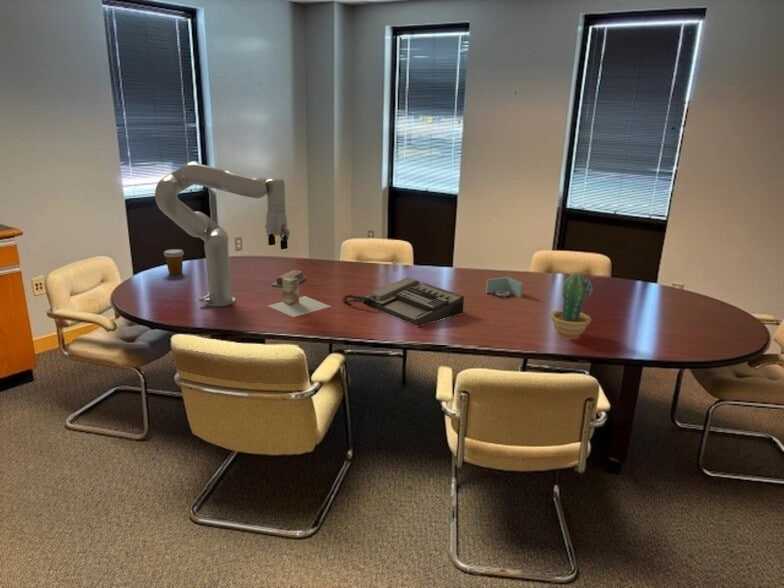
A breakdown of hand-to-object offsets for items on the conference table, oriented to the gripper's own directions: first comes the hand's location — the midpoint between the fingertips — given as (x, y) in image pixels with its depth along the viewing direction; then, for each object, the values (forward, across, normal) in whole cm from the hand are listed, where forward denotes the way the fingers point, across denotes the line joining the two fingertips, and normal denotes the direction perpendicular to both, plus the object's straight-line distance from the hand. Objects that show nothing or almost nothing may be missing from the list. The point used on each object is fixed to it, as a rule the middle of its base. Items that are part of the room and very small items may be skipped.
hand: (277, 246), depth 246 cm
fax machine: (+25, +44, +32) cm, 60 cm away
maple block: (+24, +9, 0) cm, 25 cm away
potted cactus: (+24, +111, +59) cm, 128 cm away
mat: (+24, +15, 0) cm, 28 cm away
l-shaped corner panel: (+24, +65, +82) cm, 108 cm away
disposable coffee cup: (+25, -69, -17) cm, 75 cm away
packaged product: (+25, -19, +18) cm, 36 cm away
